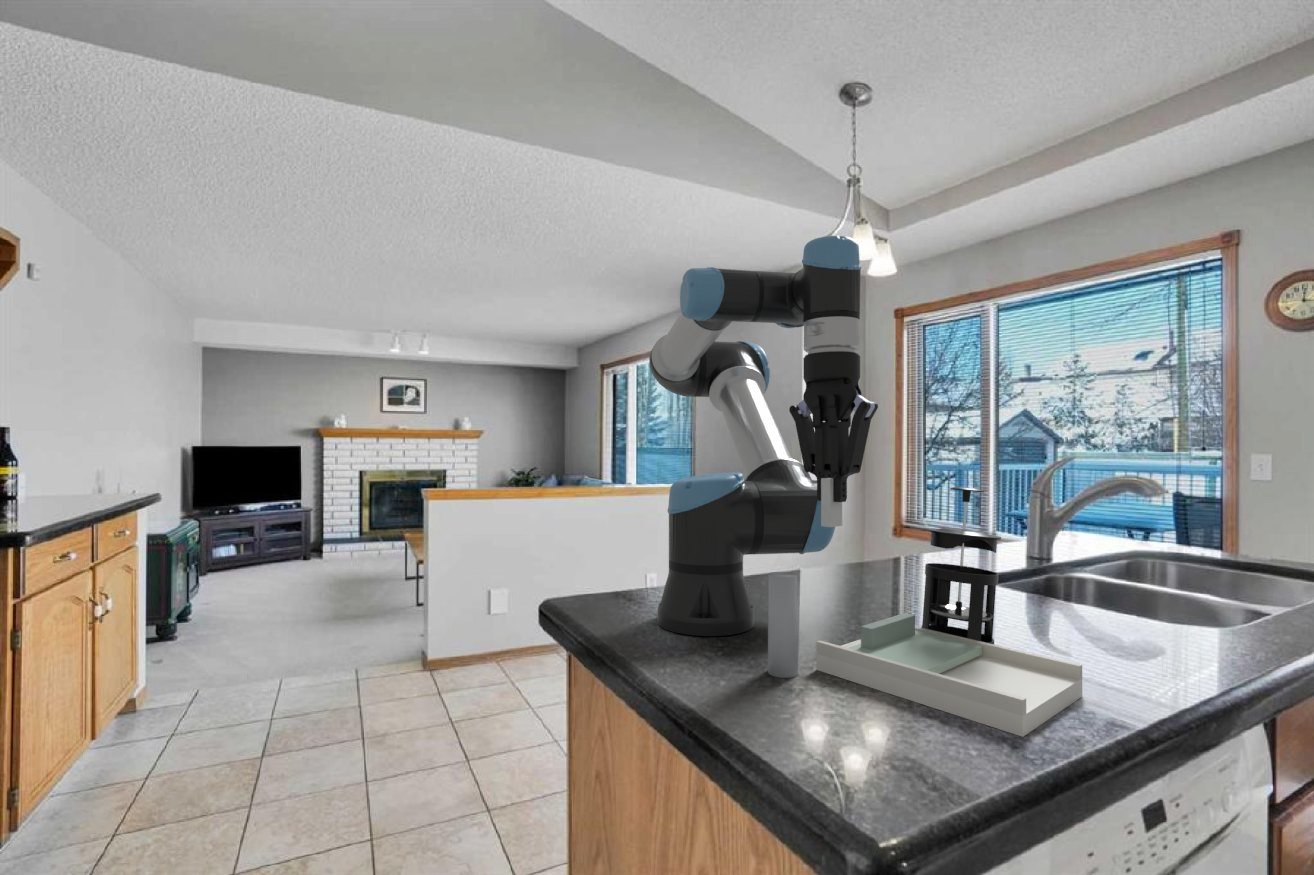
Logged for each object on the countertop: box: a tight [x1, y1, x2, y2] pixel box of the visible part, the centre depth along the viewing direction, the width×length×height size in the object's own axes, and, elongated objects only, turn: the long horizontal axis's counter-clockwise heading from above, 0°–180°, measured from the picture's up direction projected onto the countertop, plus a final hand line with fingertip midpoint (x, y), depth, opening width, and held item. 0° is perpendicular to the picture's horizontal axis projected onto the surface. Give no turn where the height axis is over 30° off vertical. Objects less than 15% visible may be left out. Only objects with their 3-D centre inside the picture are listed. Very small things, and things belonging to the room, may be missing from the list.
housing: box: [815, 625, 1083, 738], centre depth 77 cm, size 24×16×4 cm, turn 40°
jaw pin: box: [767, 571, 799, 679], centre depth 80 cm, size 4×4×12 cm
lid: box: [849, 612, 982, 674], centre depth 79 cm, size 10×14×4 cm
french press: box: [920, 486, 1002, 645], centre depth 88 cm, size 12×9×23 cm
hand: (831, 525), depth 89 cm, fingers closed
